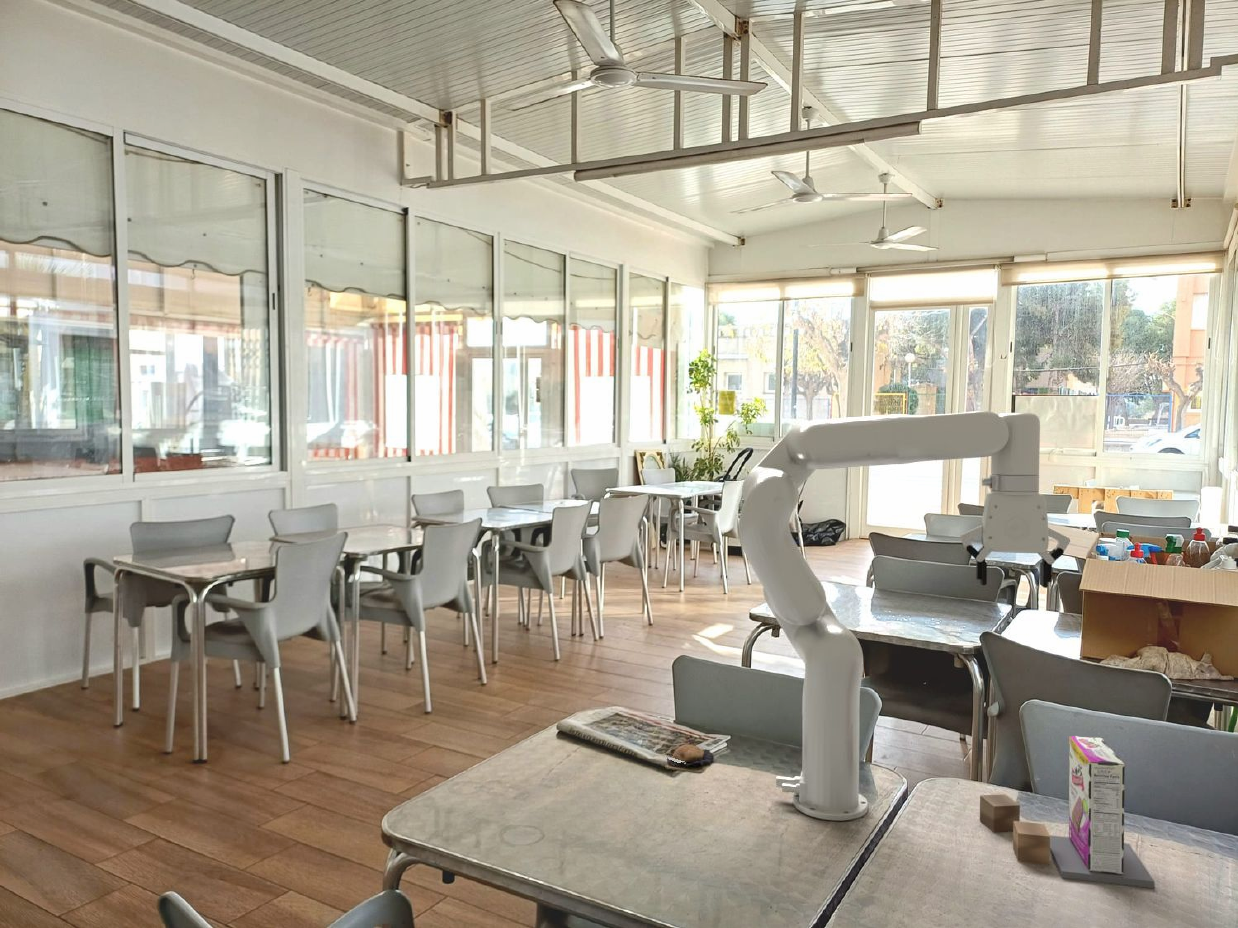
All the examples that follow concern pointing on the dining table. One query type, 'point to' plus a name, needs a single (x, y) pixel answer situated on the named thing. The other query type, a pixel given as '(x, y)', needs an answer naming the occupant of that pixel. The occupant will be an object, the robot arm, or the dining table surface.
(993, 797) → the dark oak block
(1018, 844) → the light brown wooden cube
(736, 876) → the dining table surface
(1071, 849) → the charcoal mat
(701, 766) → the bread roll
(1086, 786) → the candy bar box
